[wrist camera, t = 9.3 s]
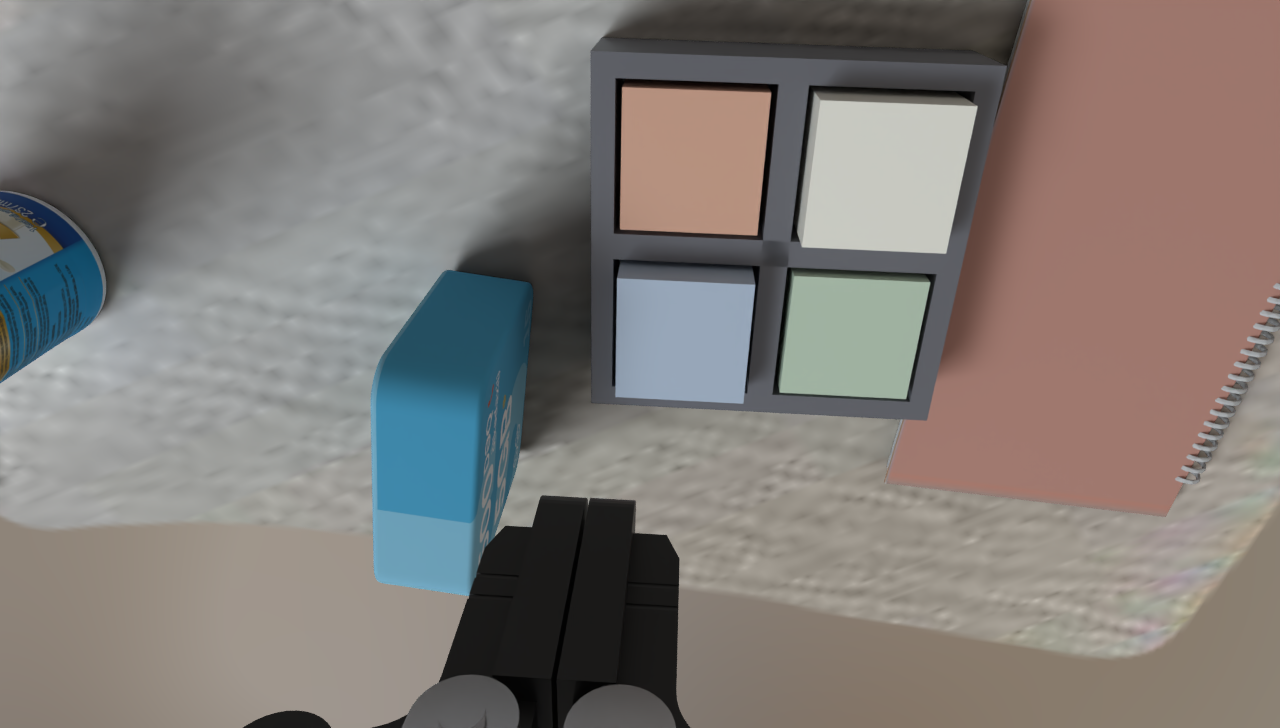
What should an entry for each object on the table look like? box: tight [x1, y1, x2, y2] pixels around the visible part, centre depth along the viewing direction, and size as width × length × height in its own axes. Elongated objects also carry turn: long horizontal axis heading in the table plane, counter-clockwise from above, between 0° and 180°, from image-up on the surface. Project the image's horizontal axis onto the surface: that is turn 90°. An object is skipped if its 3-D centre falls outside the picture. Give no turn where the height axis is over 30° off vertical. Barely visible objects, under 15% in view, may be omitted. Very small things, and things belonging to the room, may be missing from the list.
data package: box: [371, 270, 533, 596], centre depth 40 cm, size 12×4×12 cm, turn 172°
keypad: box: [591, 38, 1007, 421], centre depth 38 cm, size 16×16×4 cm
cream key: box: [793, 85, 978, 254], centre depth 35 cm, size 6×6×4 cm
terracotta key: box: [620, 79, 771, 236], centre depth 36 cm, size 6×6×4 cm
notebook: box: [884, 0, 1280, 517], centre depth 40 cm, size 27×17×2 cm, turn 174°
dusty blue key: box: [615, 260, 755, 404], centre depth 39 cm, size 6×6×4 cm
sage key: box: [775, 267, 930, 399], centre depth 39 cm, size 6×6×4 cm
